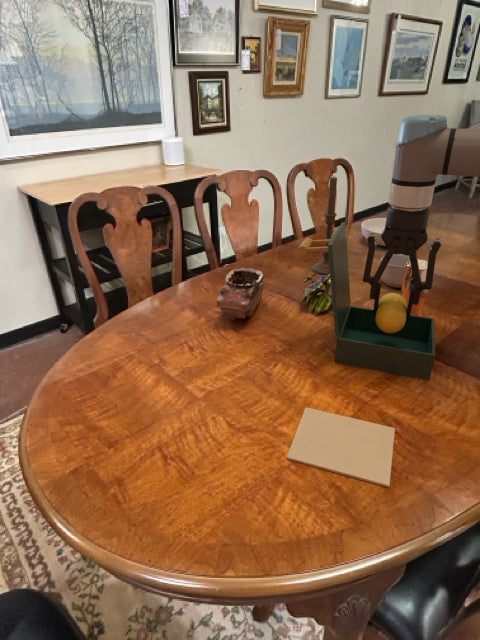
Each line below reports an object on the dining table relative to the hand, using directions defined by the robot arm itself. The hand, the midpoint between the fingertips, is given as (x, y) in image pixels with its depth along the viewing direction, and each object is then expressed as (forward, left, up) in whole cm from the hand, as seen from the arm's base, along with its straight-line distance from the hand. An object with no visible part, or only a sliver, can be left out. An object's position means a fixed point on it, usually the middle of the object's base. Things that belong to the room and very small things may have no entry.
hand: (391, 314), depth 90 cm
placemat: (+4, +31, -10) cm, 33 cm away
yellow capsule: (0, 0, -2) cm, 2 cm away
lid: (+11, 0, +7) cm, 13 cm away
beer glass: (-5, -19, -10) cm, 22 cm away
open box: (0, 0, -10) cm, 10 cm away
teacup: (-1, -42, -10) cm, 43 cm away
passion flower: (+18, -18, -10) cm, 28 cm away
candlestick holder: (+22, -45, -10) cm, 51 cm away
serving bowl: (+5, -79, -10) cm, 80 cm away
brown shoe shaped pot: (+36, -8, -10) cm, 39 cm away
